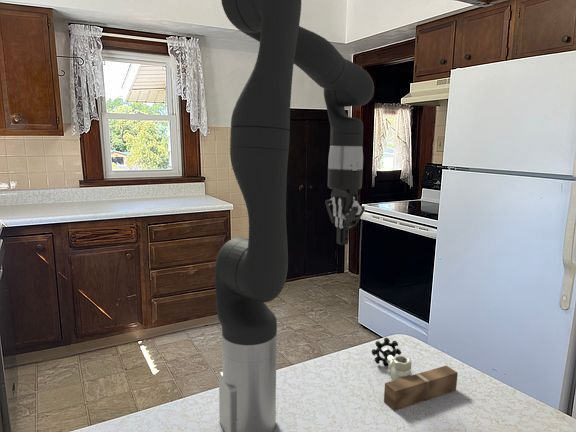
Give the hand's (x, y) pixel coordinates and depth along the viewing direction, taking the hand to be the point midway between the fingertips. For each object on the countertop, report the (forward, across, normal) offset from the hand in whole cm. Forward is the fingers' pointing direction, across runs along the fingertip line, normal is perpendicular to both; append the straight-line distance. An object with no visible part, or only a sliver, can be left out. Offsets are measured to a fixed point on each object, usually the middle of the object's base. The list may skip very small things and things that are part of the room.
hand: (342, 243), depth 95 cm
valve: (+27, +14, +5) cm, 31 cm away
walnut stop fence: (+27, +21, +6) cm, 35 cm away
